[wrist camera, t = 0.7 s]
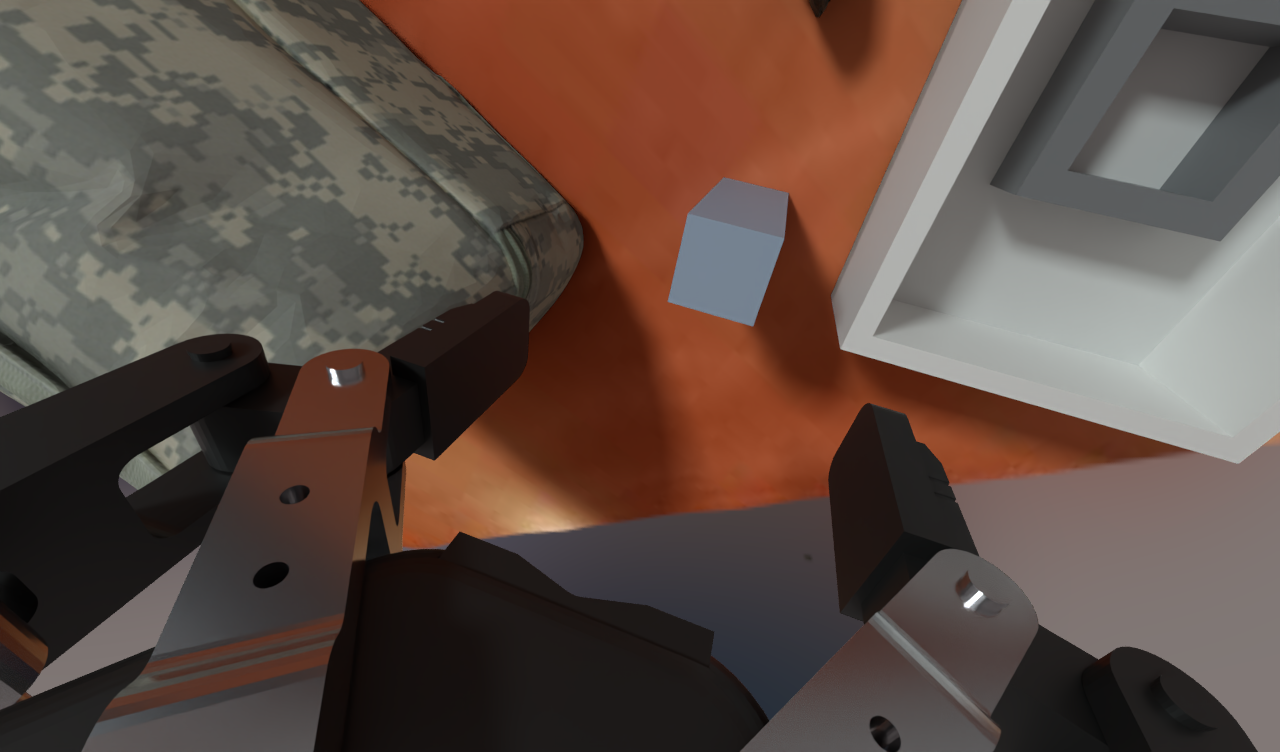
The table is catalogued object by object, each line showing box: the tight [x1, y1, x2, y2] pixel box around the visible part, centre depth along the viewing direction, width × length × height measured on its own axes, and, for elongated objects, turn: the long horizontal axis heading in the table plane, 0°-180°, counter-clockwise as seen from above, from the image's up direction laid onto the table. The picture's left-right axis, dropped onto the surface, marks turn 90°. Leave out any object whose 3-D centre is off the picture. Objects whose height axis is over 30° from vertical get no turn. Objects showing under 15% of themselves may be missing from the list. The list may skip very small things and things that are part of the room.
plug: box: [668, 177, 789, 326], centre depth 21 cm, size 4×4×10 cm
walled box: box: [831, 0, 1280, 464], centre depth 16 cm, size 22×16×7 cm
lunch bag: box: [0, 0, 583, 490], centre depth 22 cm, size 26×18×22 cm
